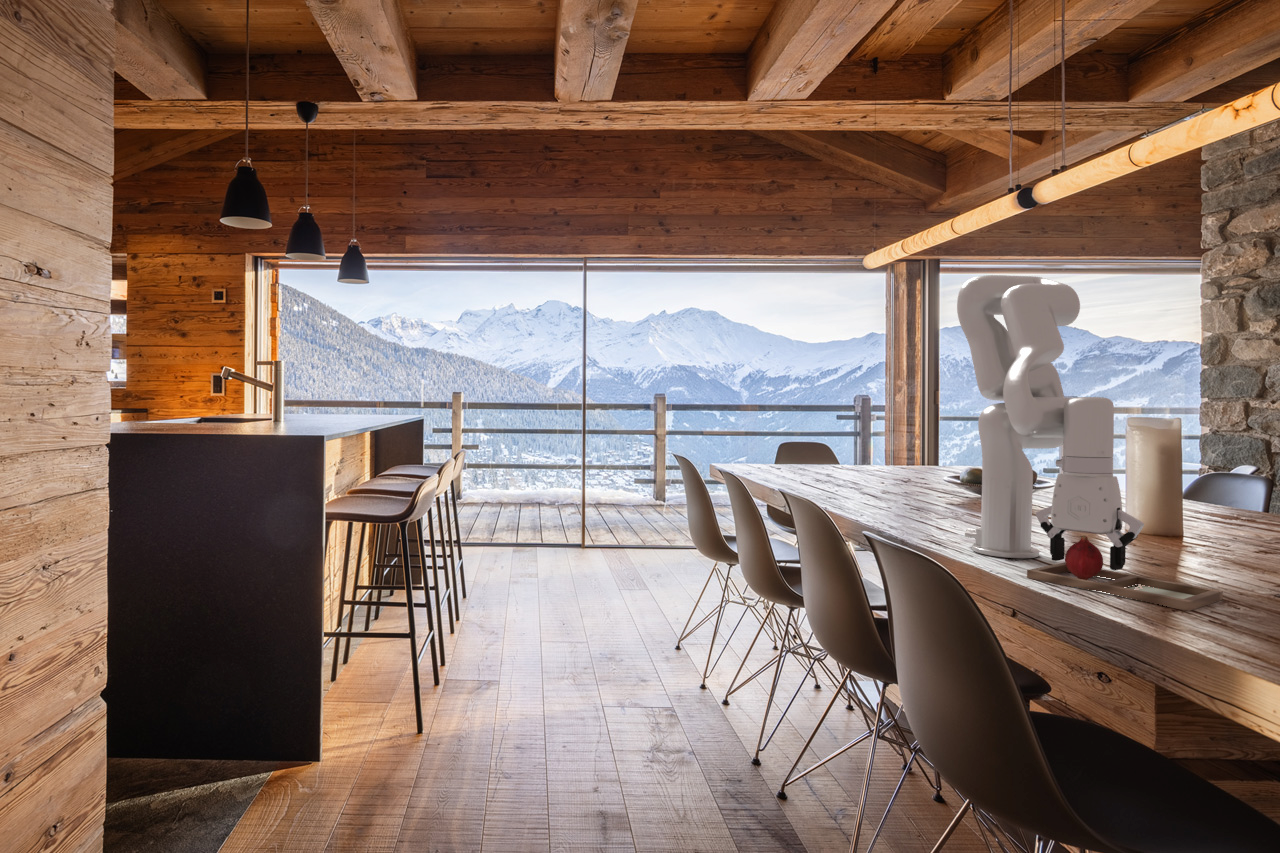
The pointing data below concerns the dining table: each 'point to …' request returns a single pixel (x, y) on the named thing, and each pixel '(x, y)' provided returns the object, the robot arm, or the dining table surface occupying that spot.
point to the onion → (1084, 559)
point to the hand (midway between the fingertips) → (1086, 564)
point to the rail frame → (1165, 595)
